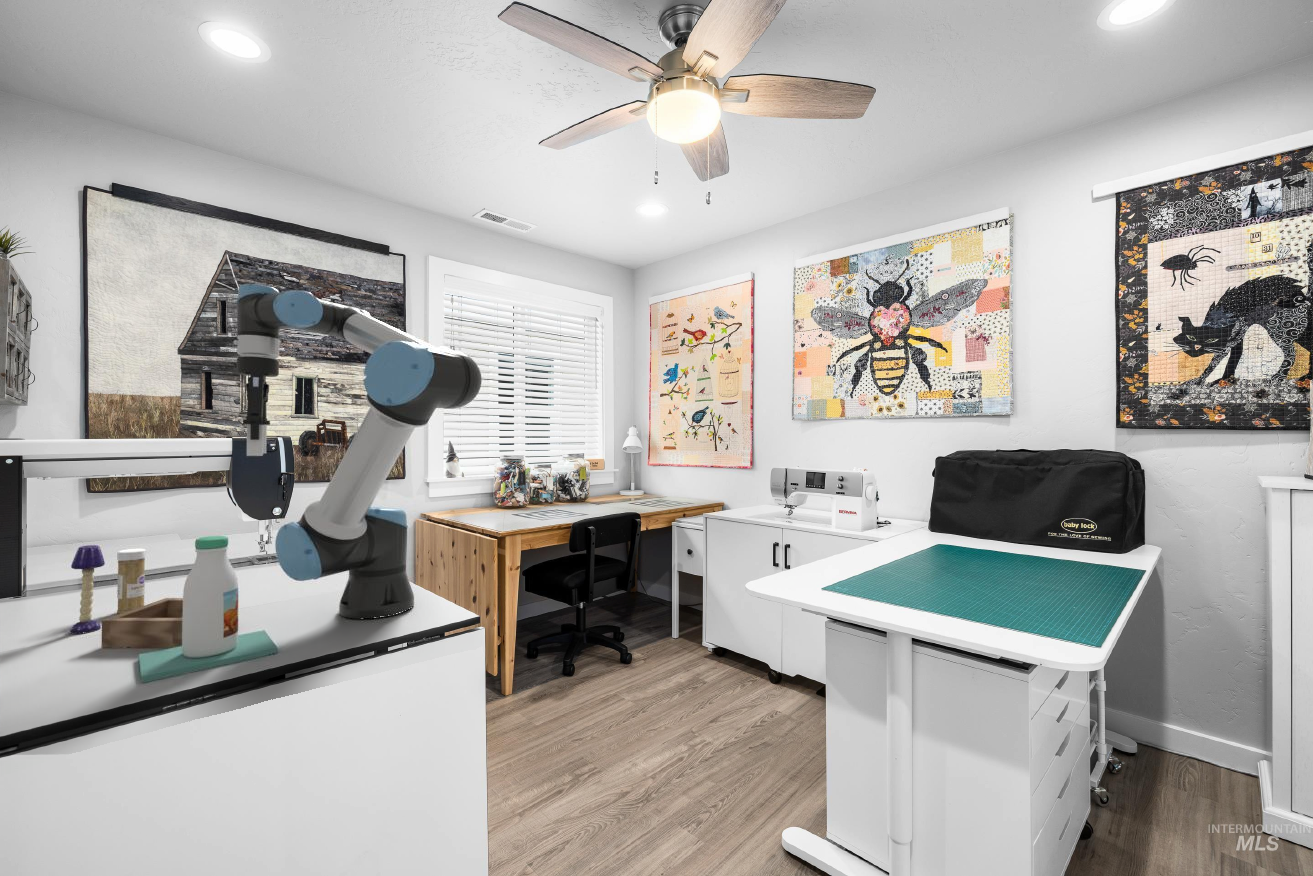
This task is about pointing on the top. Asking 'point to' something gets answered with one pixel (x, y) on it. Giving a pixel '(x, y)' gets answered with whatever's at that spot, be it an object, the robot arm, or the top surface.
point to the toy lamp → (87, 585)
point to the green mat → (177, 663)
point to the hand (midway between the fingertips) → (256, 454)
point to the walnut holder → (146, 626)
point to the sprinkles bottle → (131, 579)
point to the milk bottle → (210, 601)
